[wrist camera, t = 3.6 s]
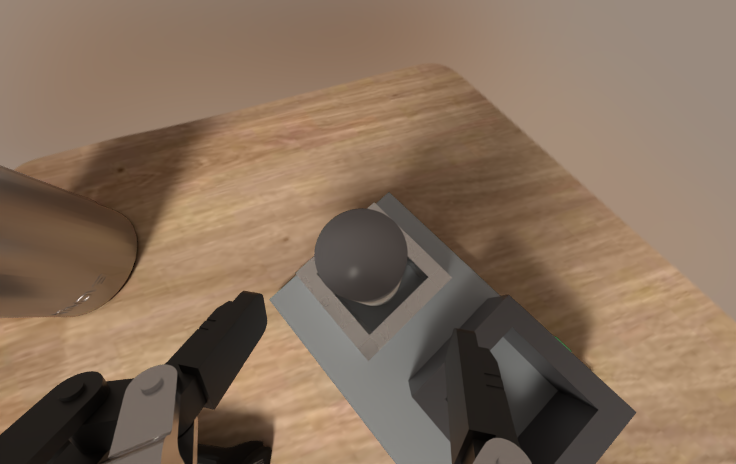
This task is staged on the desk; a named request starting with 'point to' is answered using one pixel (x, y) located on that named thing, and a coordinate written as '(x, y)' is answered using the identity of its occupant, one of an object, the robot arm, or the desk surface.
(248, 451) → the electric trimmer
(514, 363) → the panel
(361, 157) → the desk surface
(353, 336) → the square frame
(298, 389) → the desk surface
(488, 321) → the port
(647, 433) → the desk surface
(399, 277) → the plug
